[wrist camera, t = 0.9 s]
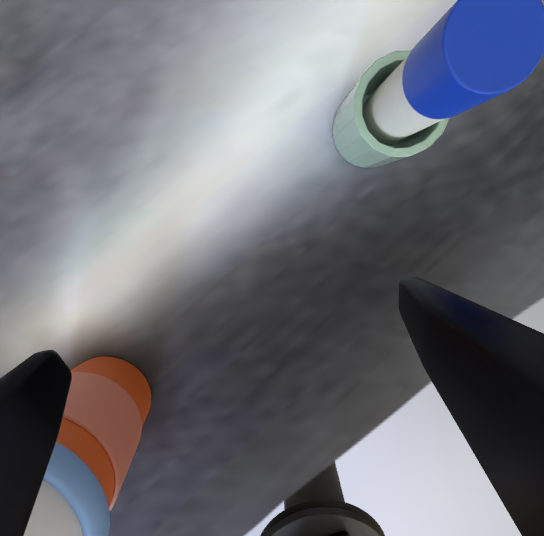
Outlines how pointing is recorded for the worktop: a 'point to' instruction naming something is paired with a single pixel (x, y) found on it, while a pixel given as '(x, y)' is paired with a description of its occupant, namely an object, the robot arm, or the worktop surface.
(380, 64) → the glass
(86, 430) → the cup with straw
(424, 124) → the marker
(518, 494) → the robot arm
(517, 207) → the worktop surface
